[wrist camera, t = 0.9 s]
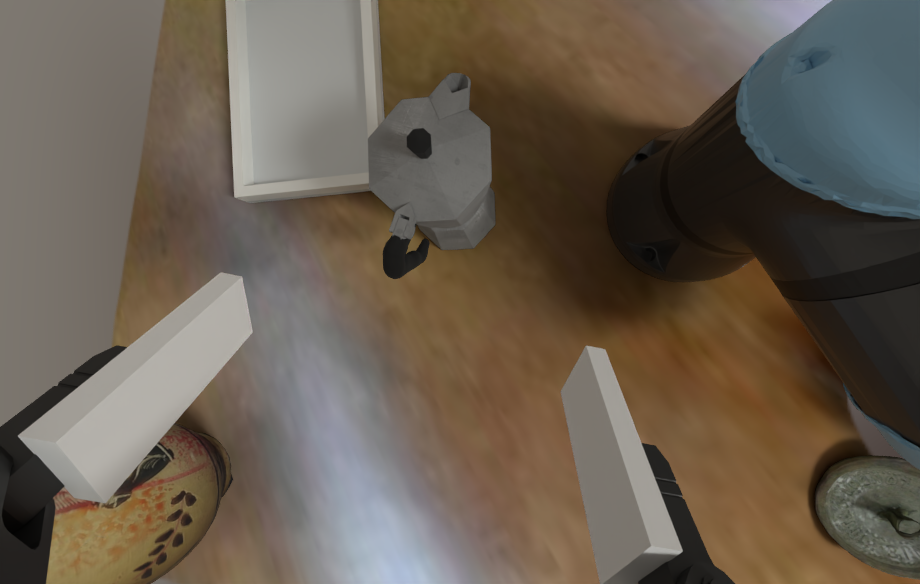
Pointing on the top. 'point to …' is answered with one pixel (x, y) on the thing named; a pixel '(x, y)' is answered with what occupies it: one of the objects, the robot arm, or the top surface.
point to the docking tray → (302, 96)
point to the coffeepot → (433, 174)
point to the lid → (874, 511)
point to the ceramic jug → (142, 515)
